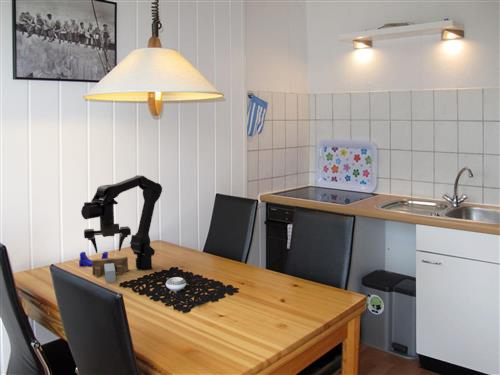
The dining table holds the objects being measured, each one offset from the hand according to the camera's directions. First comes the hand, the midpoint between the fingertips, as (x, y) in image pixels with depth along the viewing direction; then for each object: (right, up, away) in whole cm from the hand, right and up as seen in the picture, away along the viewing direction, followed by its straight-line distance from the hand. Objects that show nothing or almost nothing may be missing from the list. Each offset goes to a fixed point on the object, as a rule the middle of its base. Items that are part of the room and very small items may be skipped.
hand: (108, 252), depth 217 cm
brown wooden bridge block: (-1, -10, +8) cm, 13 cm away
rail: (0, -11, +2) cm, 12 cm away
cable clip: (-13, -9, +22) cm, 27 cm away
